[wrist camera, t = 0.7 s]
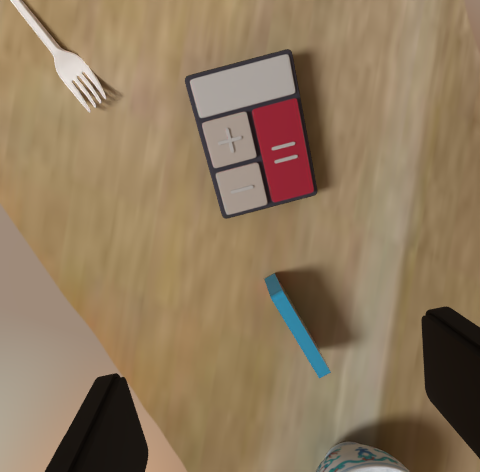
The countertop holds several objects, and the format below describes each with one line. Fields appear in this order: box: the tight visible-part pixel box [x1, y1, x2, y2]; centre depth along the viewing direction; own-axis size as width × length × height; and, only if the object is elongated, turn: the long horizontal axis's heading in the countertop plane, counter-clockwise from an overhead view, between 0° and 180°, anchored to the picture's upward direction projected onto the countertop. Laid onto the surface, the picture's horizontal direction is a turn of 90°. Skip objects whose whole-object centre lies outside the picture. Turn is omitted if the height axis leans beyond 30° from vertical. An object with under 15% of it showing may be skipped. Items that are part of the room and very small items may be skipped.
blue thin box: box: [264, 273, 331, 378], centre depth 40 cm, size 12×2×6 cm, turn 30°
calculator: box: [185, 49, 317, 219], centre depth 36 cm, size 11×4×15 cm
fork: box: [10, 0, 106, 112], centre depth 33 cm, size 3×20×2 cm, turn 37°
